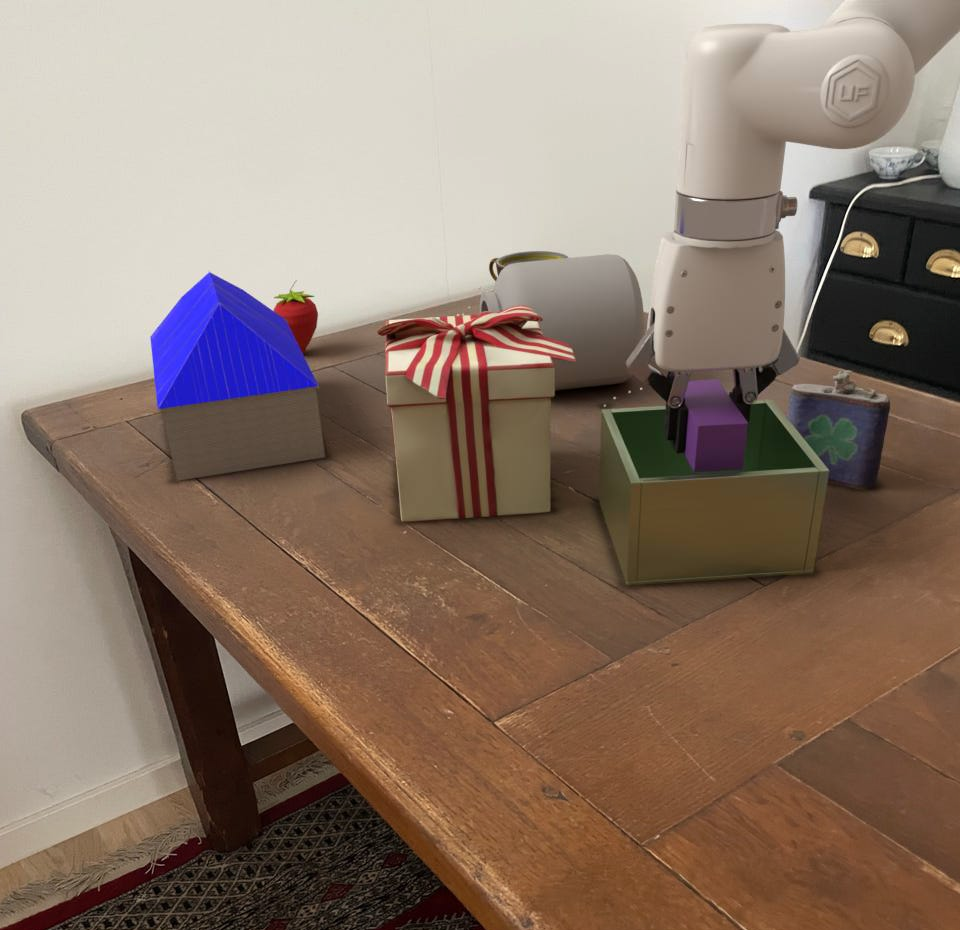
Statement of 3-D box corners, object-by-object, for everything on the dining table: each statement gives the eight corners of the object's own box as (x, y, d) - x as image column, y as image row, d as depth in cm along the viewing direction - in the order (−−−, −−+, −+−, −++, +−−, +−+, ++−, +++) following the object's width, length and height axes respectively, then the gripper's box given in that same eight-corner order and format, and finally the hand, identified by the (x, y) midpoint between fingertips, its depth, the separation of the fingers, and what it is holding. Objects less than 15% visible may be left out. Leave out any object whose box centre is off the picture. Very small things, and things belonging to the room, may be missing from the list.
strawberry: (324, 345, 142) (315, 271, 137) (321, 363, 136) (311, 286, 130) (282, 347, 142) (270, 273, 136) (276, 365, 136) (264, 289, 130)
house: (164, 402, 126) (135, 271, 117) (295, 384, 130) (275, 255, 121) (174, 484, 106) (140, 333, 97) (328, 459, 109) (308, 311, 101)
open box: (760, 493, 98) (772, 398, 93) (813, 575, 85) (829, 470, 80) (599, 504, 98) (601, 409, 93) (626, 587, 85) (631, 482, 80)
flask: (776, 476, 101) (790, 370, 95) (785, 465, 103) (799, 360, 97) (872, 494, 97) (892, 385, 91) (879, 482, 99) (900, 374, 93)
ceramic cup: (584, 331, 142) (585, 257, 136) (537, 350, 136) (536, 273, 131) (515, 315, 150) (513, 244, 144) (467, 333, 144) (464, 259, 138)
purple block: (713, 422, 91) (717, 379, 89) (743, 470, 83) (748, 423, 80) (668, 425, 91) (671, 381, 89) (694, 472, 83) (698, 425, 80)
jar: (653, 379, 112) (424, 358, 110) (623, 439, 126) (420, 422, 124) (654, 230, 116) (435, 208, 115) (626, 304, 131) (430, 286, 129)
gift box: (403, 545, 93) (385, 359, 83) (386, 463, 108) (369, 297, 98) (586, 524, 95) (589, 339, 85) (544, 447, 110) (543, 282, 100)
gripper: (819, 201, 80) (788, 423, 90) (606, 212, 79) (599, 433, 90) (853, 222, 74) (816, 458, 84) (622, 234, 73) (613, 469, 83)
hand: (704, 443), depth 87 cm, fingers closed on purple block, 4 cm apart
